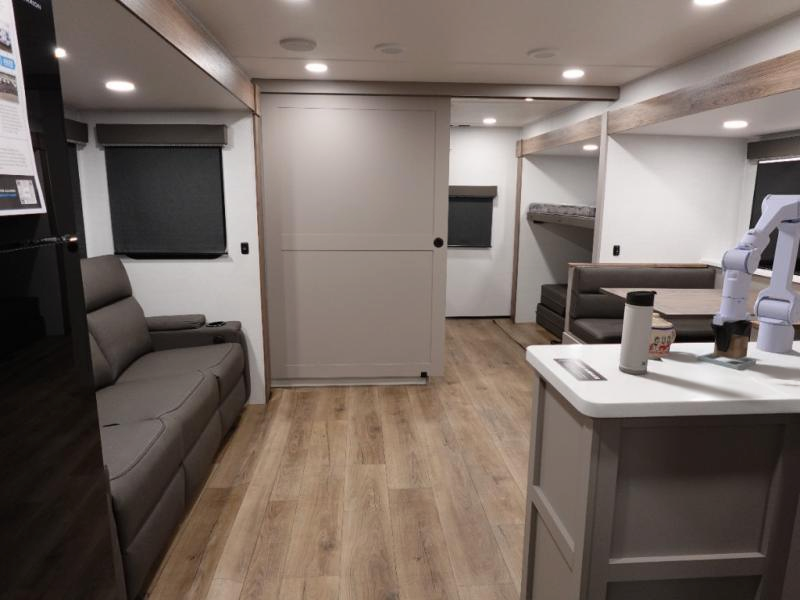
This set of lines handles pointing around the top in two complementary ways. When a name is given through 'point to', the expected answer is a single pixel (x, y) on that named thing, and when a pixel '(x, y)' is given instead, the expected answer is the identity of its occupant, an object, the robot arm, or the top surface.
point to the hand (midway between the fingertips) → (727, 349)
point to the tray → (739, 366)
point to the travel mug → (636, 332)
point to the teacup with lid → (660, 337)
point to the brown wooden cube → (734, 347)
